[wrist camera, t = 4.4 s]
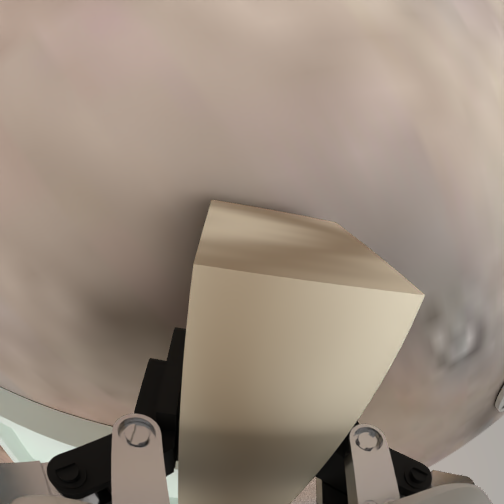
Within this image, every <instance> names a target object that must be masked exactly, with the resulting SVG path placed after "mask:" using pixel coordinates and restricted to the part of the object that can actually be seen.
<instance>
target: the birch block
mask: <svg viewBox="0 0 504 504" xmlns="http://www.w3.org/2000/svg"><path fill="white" fill-rule="evenodd" d="M424 296H425V295H424V294H423V293H422V292H421V291H420V290H419V289H417V288H416V287H415V286H414V285H413V284H412V283H410V282H409V281H408V280H407V279H406V278H405V277H403V276H402V275H401V274H400V273H399V272H398V271H396V270H395V269H394V268H393V267H392V266H390V265H389V264H388V263H387V262H385V261H384V260H383V259H382V258H381V257H379V256H378V255H377V254H376V253H374V252H373V251H372V250H371V249H369V248H368V247H367V246H366V245H364V244H363V243H362V242H361V241H359V240H358V239H357V238H355V237H354V236H353V235H352V234H350V233H349V232H348V231H346V230H345V229H344V228H343V227H341V226H340V225H339V224H337V223H336V222H331V221H326V220H322V219H317V218H312V217H307V216H302V215H296V214H291V213H286V212H281V211H275V210H270V209H264V208H259V207H253V206H247V205H242V204H236V203H230V202H224V201H218V200H211V204H210V207H209V210H208V214H207V217H206V221H205V224H204V228H203V231H202V235H201V238H200V242H199V245H198V249H197V253H196V256H195V260H194V264H193V272H192V280H191V288H190V297H189V306H188V316H187V326H186V336H185V348H184V360H183V373H182V387H181V404H180V424H179V453H178V504H290V503H291V502H292V501H293V500H294V499H295V498H296V497H297V496H298V494H299V493H300V492H301V491H302V490H303V489H304V488H305V487H306V486H307V485H308V483H309V482H310V481H311V480H312V479H313V478H314V477H315V475H316V474H317V473H318V472H319V471H320V469H321V468H322V467H323V466H324V465H325V463H326V462H327V461H328V460H329V458H330V457H331V456H332V454H333V453H334V452H335V451H336V449H337V448H338V447H339V445H340V444H341V443H342V441H343V440H344V439H345V437H346V436H347V434H348V433H349V432H350V430H351V429H352V427H353V426H354V425H355V423H356V422H357V420H358V419H359V417H360V416H361V414H362V413H363V411H364V410H365V408H366V407H367V405H368V404H369V402H370V400H371V399H372V397H373V396H374V394H375V392H376V391H377V389H378V387H379V386H380V384H381V382H382V381H383V379H384V377H385V375H386V374H387V372H388V370H389V368H390V367H391V365H392V363H393V361H394V359H395V357H396V356H397V354H398V352H399V350H400V348H401V346H402V344H403V342H404V340H405V338H406V336H407V334H408V332H409V330H410V328H411V326H412V323H413V321H414V319H415V317H416V315H417V313H418V310H419V308H420V306H421V303H422V301H423V299H424Z"/></svg>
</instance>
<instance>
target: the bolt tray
mask: <svg viewBox="0 0 504 504" xmlns="http://www.w3.org/2000/svg"><path fill="white" fill-rule="evenodd" d="M112 429H113V427H112V426H108V425H104V424H100V423H96V422H93V421H89V420H86V419H82V418H79V417H76V416H72V415H69V414H66V413H63V412H60V411H57V410H54V409H52V408H49V407H46V406H43V405H41V404H38V403H36V402H33V401H31V400H28V399H26V398H24V397H21V396H19V395H17V394H14V393H12V392H10V391H8V390H6V389H3V388H1V387H0V445H1V446H2V448H3V449H4V450H5V451H6V453H7V454H8V455H9V456H10V458H11V459H12V460H13V461H14V463H17V462H30V461H40V462H41V463H45V462H49V461H50V460H51V459H52V458H53V457H54V456H56V455H58V454H61V453H64V452H66V451H69V450H72V449H74V448H77V447H80V446H82V445H85V444H87V443H90V442H92V441H95V440H97V439H100V438H102V437H104V436H107V435H109V434H111V433H112ZM166 480H167V487H168V494H169V500H170V504H178V461H176V466H175V468H174V472H173V473H172V474H170V475H168V476H167V477H166Z"/></svg>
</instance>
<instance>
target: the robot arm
mask: <svg viewBox="0 0 504 504" xmlns="http://www.w3.org/2000/svg"><path fill="white" fill-rule="evenodd" d="M185 336H186V329H181V328H175V329H174V333H173V337H172V341H171V345H170V349H169V353H168V358H167V361H163V360H158V359H152V358H150V359H149V362H148V365H147V368H146V372H145V375H144V379H143V382H142V386H141V389H140V393H139V396H138V400H137V404H136V407H135V411H134V414H127V415H124V416H122V417H120V418H119V419H117V421H116V422H115V423H114V425H113V429H112V433H111V434H109V435H107V436H104V437H102V438H100V439H97V440H95V441H92V442H90V443H87V444H85V445H82V446H80V447H77V448H74V449H72V450H69V451H66V452H64V453H61V454H58V455H56V456H54V457H53V458H52V459H51V460H50V461H49V462H45V463H41V462H40V461H30V462H17V463H0V504H170V500H169V494H168V487H167V480H166V477H167V476H168V475H170V474H172V473H173V472H174V468H175V466H176V461H178V453H179V424H180V404H181V387H182V373H183V360H184V348H185ZM495 407H496V408H497V410H498V411H499V412H503V411H504V386H503V387H502V389H501V391H500V393H499V395H498V397H497V399H496V403H495ZM315 476H316V502H317V504H492V502H491V500H490V499H489V498H488V496H487V495H486V493H485V492H484V491H483V490H482V489H481V488H480V487H478V486H476V485H475V484H474V482H473V480H471V479H470V478H469V477H467V476H462V475H456V474H451V473H445V472H441V471H435V470H433V471H431V472H430V470H429V469H428V468H427V467H426V466H425V465H424V464H422V463H420V462H418V461H416V460H413V459H411V458H409V457H407V456H405V455H403V454H401V453H399V452H396V451H394V450H392V449H390V448H389V447H388V443H387V439H386V437H385V434H384V433H383V432H382V431H381V430H380V429H379V428H377V427H376V426H373V425H370V424H359V423H358V421H357V422H356V423H355V425H354V426H353V427H352V429H351V430H350V432H349V433H348V434H347V436H346V437H345V439H344V440H343V441H342V443H341V444H340V445H339V447H338V448H337V449H336V451H335V452H334V453H333V454H332V456H331V457H330V458H329V460H328V461H327V462H326V463H325V465H324V466H323V467H322V468H321V469H320V471H319V472H318V473H317V474H316V475H315Z"/></svg>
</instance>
